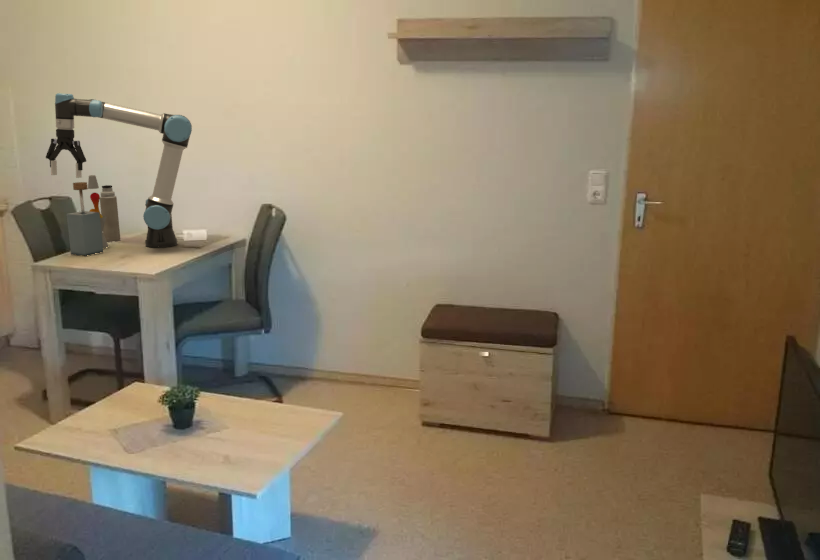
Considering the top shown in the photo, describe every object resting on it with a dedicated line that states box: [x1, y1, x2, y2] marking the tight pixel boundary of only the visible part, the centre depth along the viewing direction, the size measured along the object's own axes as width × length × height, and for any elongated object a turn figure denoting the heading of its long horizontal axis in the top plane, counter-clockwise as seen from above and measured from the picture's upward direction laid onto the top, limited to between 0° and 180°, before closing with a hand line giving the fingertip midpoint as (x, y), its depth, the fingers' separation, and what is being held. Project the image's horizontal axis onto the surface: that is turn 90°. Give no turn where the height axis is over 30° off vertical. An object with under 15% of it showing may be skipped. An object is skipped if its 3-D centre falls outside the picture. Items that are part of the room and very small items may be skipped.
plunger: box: [72, 181, 89, 214], centre depth 355 cm, size 8×8×22 cm
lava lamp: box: [87, 174, 109, 249], centre depth 371 cm, size 9×9×35 cm
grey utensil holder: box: [66, 210, 104, 257], centre depth 358 cm, size 10×10×19 cm
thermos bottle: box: [99, 184, 121, 243], centre depth 390 cm, size 8×8×28 cm
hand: (66, 176), depth 350 cm, fingers open, 13 cm apart
